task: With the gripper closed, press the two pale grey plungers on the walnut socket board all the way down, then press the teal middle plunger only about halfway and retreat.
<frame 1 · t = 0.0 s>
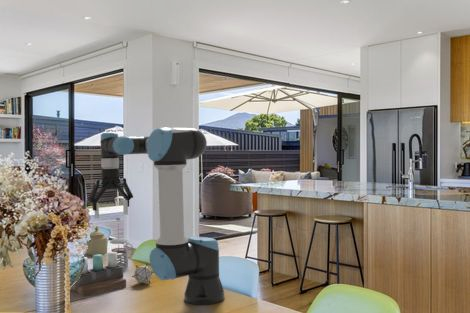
hand: (111, 216, 205), 28 cm above the table, tool pointing down, fingers open, 13 cm apart
grey spiky ball: (143, 284, 198), on the table
socket board: (98, 287, 193), on the table
grey plug 1: (112, 259, 197), point 10 cm above the table, slide at 0.0 cm
sugar bowl: (95, 252, 260), on the table
grey plug 2: (82, 265, 189), point 10 cm above the table, slide at 0.0 cm
french press: (121, 269, 222), on the table
teal plug: (97, 262, 193), point 10 cm above the table, slide at 0.0 cm
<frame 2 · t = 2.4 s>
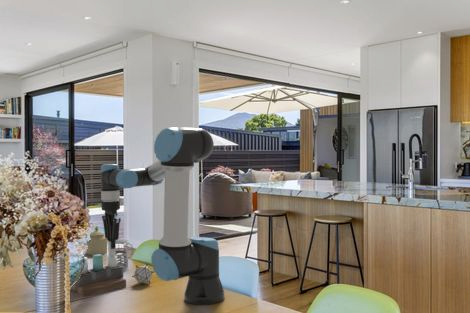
hand: (112, 255, 197), 12 cm above the table, tool pointing down, fingers closed
grey plug 1: (112, 263, 197), point 9 cm above the table, slide at 1.6 cm, touching gripper
everything else where it was.
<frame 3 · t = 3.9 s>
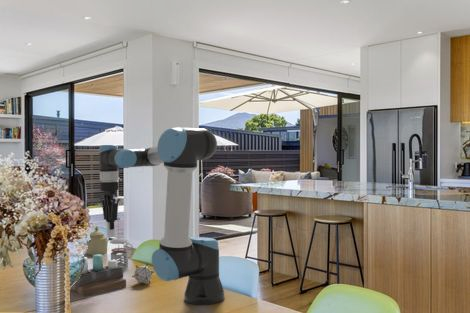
hand: (110, 236, 197), 20 cm above the table, tool pointing down, fingers closed
grey plug 1: (112, 267, 197), point 7 cm above the table, slide at 3.4 cm
everything else where it was.
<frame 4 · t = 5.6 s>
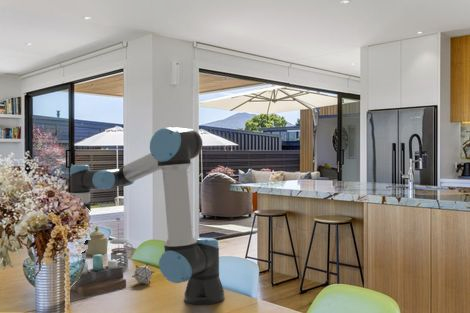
hand: (82, 260, 189), 12 cm above the table, tool pointing down, fingers closed
grey plug 2: (82, 268, 189), point 9 cm above the table, slide at 1.3 cm, touching gripper
everything else where it was.
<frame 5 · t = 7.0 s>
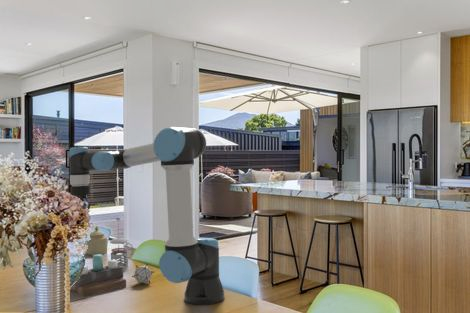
hand: (82, 243, 188), 20 cm above the table, tool pointing down, fingers closed
grey plug 2: (82, 273, 189), point 7 cm above the table, slide at 3.4 cm
everything else where it was.
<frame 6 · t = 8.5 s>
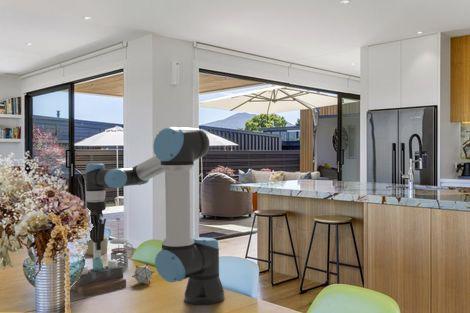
hand: (97, 257, 193), 13 cm above the table, tool pointing down, fingers closed
teal plug: (97, 265, 193), point 9 cm above the table, slide at 1.1 cm, touching gripper
everything else where it was.
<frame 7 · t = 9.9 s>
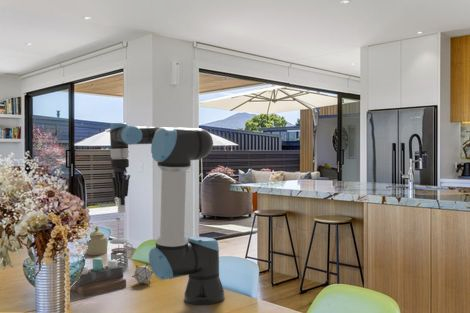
hand: (121, 212, 203), 30 cm above the table, tool pointing down, fingers closed
teal plug: (97, 266, 193), point 9 cm above the table, slide at 1.4 cm
everything else where it was.
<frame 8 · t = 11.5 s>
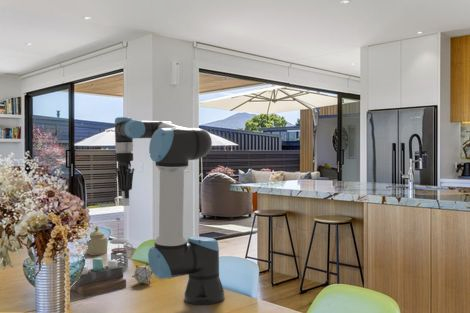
hand: (125, 205, 206), 32 cm above the table, tool pointing down, fingers closed
nothing on the table moved.
at the end: grey plug 1 slide at 3.4 cm; grey plug 2 slide at 3.4 cm; teal plug slide at 1.4 cm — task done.
